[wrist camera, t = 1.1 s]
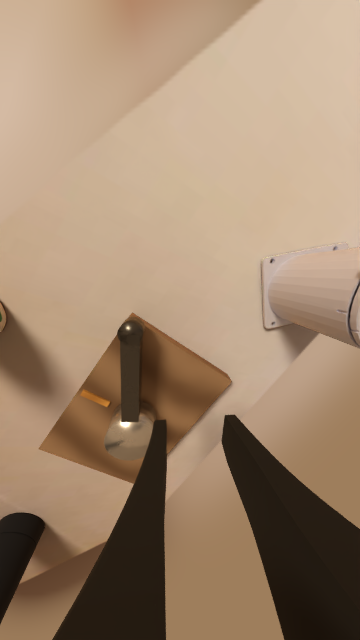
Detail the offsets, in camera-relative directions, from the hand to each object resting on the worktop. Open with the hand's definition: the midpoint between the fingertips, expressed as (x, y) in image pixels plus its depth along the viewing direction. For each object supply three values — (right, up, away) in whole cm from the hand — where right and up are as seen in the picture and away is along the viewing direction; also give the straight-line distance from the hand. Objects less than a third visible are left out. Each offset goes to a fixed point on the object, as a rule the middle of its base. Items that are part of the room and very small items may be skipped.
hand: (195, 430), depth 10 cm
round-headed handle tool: (-6, 0, +8) cm, 10 cm away
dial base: (-6, -4, +11) cm, 14 cm away
